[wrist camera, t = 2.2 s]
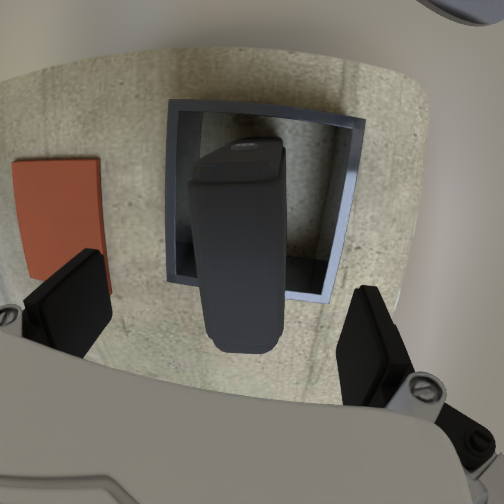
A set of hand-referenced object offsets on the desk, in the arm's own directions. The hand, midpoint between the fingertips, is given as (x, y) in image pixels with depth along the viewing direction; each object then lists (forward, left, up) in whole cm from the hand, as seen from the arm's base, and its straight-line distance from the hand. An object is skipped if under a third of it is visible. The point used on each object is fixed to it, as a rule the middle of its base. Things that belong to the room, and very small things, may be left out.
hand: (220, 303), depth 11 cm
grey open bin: (0, 0, -17) cm, 17 cm away
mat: (+6, -22, -17) cm, 28 cm away
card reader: (0, 0, -17) cm, 17 cm away
